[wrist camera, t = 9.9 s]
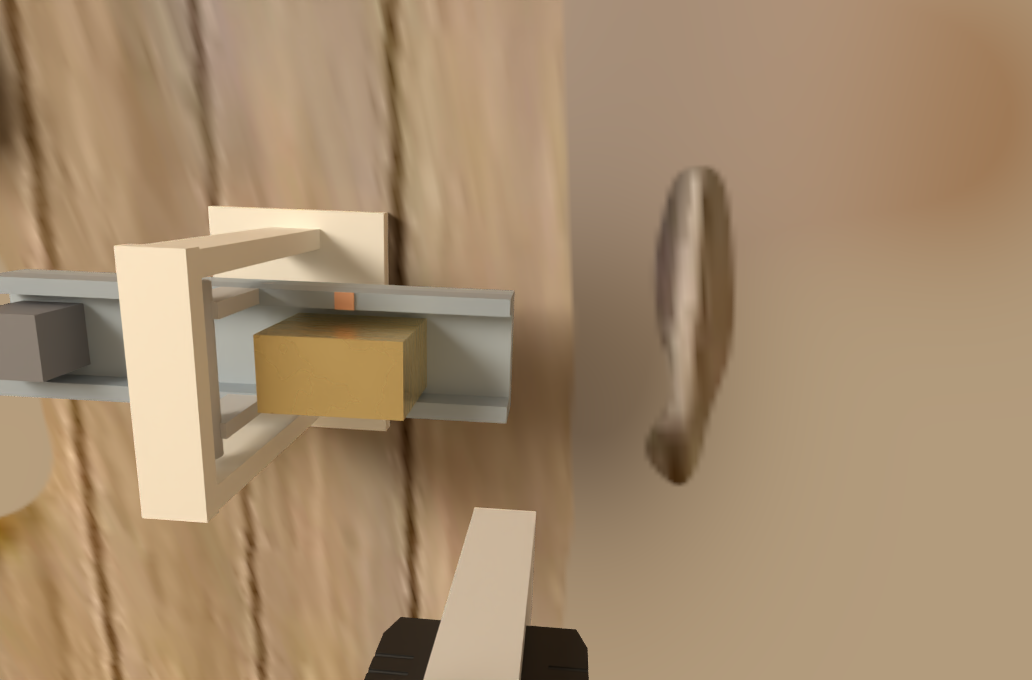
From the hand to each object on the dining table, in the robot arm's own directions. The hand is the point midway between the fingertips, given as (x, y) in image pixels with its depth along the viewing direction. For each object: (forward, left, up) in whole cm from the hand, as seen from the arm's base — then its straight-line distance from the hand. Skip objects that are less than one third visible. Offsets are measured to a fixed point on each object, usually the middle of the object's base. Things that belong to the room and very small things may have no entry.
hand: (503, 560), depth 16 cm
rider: (0, -10, -20) cm, 22 cm away
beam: (0, -16, -21) cm, 26 cm away
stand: (0, -16, -26) cm, 31 cm away
